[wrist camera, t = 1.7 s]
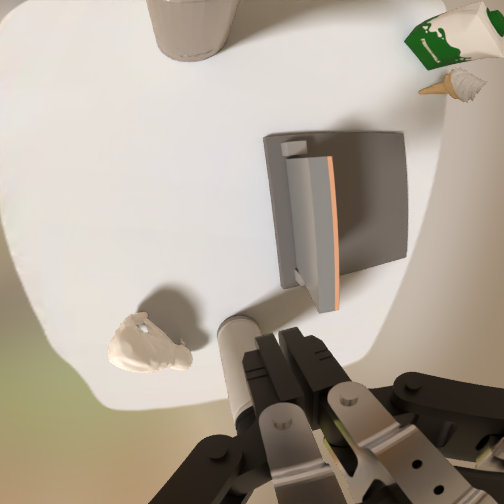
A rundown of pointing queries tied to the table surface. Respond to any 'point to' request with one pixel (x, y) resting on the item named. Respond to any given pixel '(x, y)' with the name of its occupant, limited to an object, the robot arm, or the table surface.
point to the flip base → (346, 197)
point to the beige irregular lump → (146, 347)
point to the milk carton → (458, 36)
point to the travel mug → (238, 366)
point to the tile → (315, 228)
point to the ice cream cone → (457, 85)
